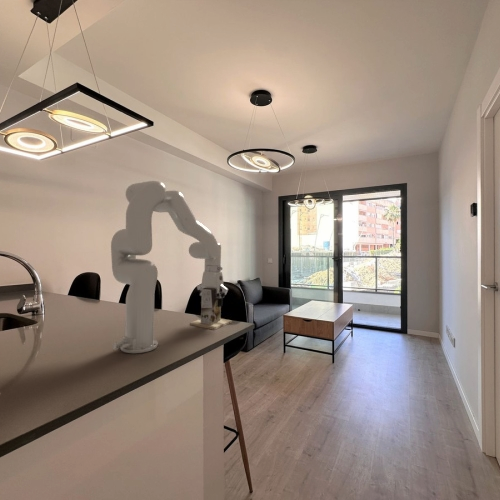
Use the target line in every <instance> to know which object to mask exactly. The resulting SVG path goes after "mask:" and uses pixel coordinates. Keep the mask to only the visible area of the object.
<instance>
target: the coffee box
mask: <svg viewBox="0 0 500 500" xmlns="http://www.w3.org/2000/svg"><path fill="white" fill-rule="evenodd" d="M201 289H202V288H201ZM218 298H219V297H218V295H217V294H216V289H212V288H203V289H202V300H201V299H200V306H201V308H200V309H201V310H200V319H201V323H204V324H211V325H212V324H214V323H216V322H218V321H220V320H221V319H222V317H221V315H222V313H221V312H222V306H221V307H218Z"/></svg>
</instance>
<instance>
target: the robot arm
mask: <svg viewBox="0 0 500 500" xmlns="http://www.w3.org/2000/svg"><path fill="white" fill-rule="evenodd" d="M125 198H126V200H127V202H128V205H127V208H126V212H125V228H124V229H120V230H118V231H116V232H115V233H114V235H113V236H112V238H111V242H110V253H111V269H112V276H113V278H114V279H115V280H116V281H117V282H118V283H120V284H125V285H129V287H128V290H127V293H126V297H125V329H124V331H125V332H124V333H125V335H124V336H122V339H121V340H120V341H118V342H114V343H112V348H113V350H117V349H120V351H121V352H124V353H127V354H142V353H147V352H151V351H153V350H155V349H157V348H158V346H159V343H158V341H157V340H156V339H154V336H155V335H154V334H155V332H154V330H155V329H154V328H155V294H156V293H155V291H156V285H157V280H158V275H159V273H158V268H157V265H155V263H154V262H152V261H151V260H148V259H141V258H136V257H137V256H146V255H148V254H150V252H151V251H152V249H153V228H152V220H153V219H152V218H153V213H154V212H155V213H168V215H169V216H170V218H171V220H172V221H173V223H174V225H175V227H176V228H177V230H178V231H179V232H181V233H183V234H185V235H186V236H189V237H190V238H191V237H192V238H194V239H195V240H197V241H195V242H192V243H191V244H190V245H189V247H188V253H189V255H190V257H192V258H194V259H200V260H201V259H202V260H204V271H203V273H202V276H201V277H202V278H201V283H200V284H198V285H197V286H196V288H197V292H198V294H199V296H200V301H201V300H202V289H203V288H212V289H216V294H217V295H218V297H219V298H218V307H221V308H222V307H223V304H224V298H225V296H226V295H227V293H228V291H229V288H228V287H226V286H224V276H223V272H222V271H223V267H222V265H221V264H222V262H221V261H222V245H221V243H218V241H217V239H216V238H215V234H213V233H212V231H211V230H210V229H208V228H207V227H206V226H205V225H203V224H202V223H201V222H199V221H198V220H197V218H196V216H195V215H194V213H193V212H192V210H191V208H190V206H189V204H188V202H187V200H186V198H185V197H184V195H183V193H182V192H180V191H179V190H167V187H166V186H165V184H164V183H163V182H161V181H157V180H149V181H143V182H136V183H132V184H130V185H129V186H128V187H127V188H126V190H125Z"/></svg>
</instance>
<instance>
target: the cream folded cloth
mask: <svg viewBox="0 0 500 500" xmlns="http://www.w3.org/2000/svg"><path fill="white" fill-rule="evenodd" d="M232 322H233V320H231V319H225V318H221V320H220V321H218V322H216V323H214V324H212V325H211V324H204V323H201V318H200V319H199V318H198V319H197V320H194V321H190V322H189V325H190V326H194V327H200V328H203V329H210V330H218V329H220V328H222V327H224V326H226V325H229V324H232Z"/></svg>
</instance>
